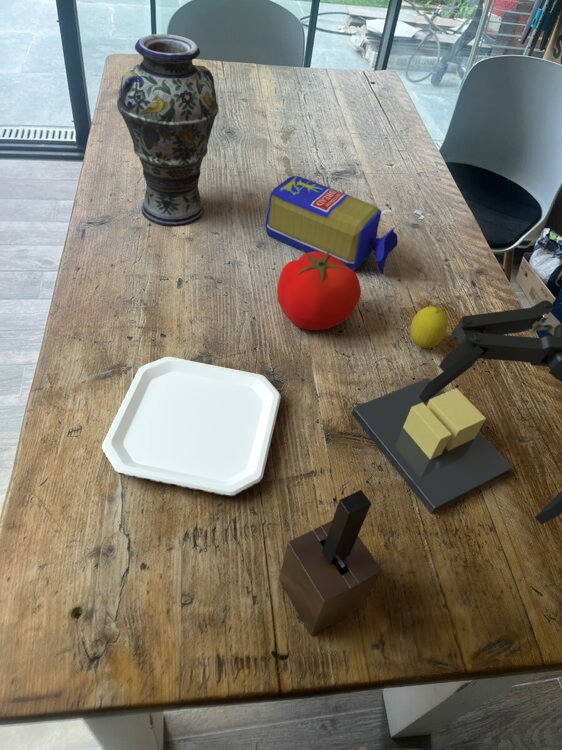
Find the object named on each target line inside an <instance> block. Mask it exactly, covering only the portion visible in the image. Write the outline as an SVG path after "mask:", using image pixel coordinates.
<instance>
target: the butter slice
mask: <svg viewBox="0 0 562 750" xmlns="http://www.w3.org/2000/svg"><path fill="white" fill-rule="evenodd" d="M403 428H404V429H405V430H406V432H407V433H408V434H409V435H410V436H411V437H412V439H413V440H414V441H415V442H416V443H417V445H418V446H419V447H420V448H421V449H422V450H423V452H424V453H425V454H426V455H427V456H428V457H429V459H432V458H435V457H437V456H439V455H441V454H442V452H443V450H444V448H445V446H446V444H447V442H448V441H449V439H450V437H451V435H452V434H451V433H450V432H449V431H448V430H447V428H446V427H445V426H444V425H443V424H442V423H441V422H440V421H439V420H438V419H437V417H436V416H435V415H434V414H433V413H432V412H431V411H430V410H429V409H428V408H427V406H426V405H425V404H424V403H423V402H422V403H420V404H418V405H415V406H413V407H411V410H410V412H409V414H408V417H407V419H406V422H405V424H404V426H403Z"/></svg>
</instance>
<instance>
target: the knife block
mask: <svg viewBox="0 0 562 750" xmlns="http://www.w3.org/2000/svg"><path fill="white" fill-rule="evenodd" d="M331 523H332V520H330V521H328V522H326V523H324V524H322V525H320V526H318V527H316V528H314V529H311V530H309V531H308V532H305V533H304V534H301V535H299V536H297V537H295V538H293V539H291V540H289V541H287V544H286V547H285V552H284V557H283V560H282V565H281V569H280V573H279V576H278V577H279V578H278V580H279V582H280V584H281V586H282V588H283V589H284V591H285V593H286V595H287V597H288V598H289V600H290V602H291V603H292V605H293V607H294V609H295V610H296V612H297V614H298V615H299V617H300V619H301V621H302V623H303V624H304V626H305V629H306V630H307V632H308V633H309V635H310V636H311V637H312V636H314V635H315V634H317V633H320V632H321V631H323V630H325V629H326V628H328V627H329V626H332V625H333V624H335V623H337V622H339V621H340V620H342V619H344V618H346V617H347V616H349V615H350V614H352V613H354V612H356V611H358V610H359V609H361V608H363V607H364V606H365V604H366V603H367V601H368V599H369V597H370V595H371V594H372V592H373V589H374V588H375V585H376V584H377V582H378V581H379V578H380V576H381V575H382V573H383V569H382V568H381V566H380V565H379V563H378V562H377V560H376V559H375V557H374V556H373V555H372V553H371V552H370V549H368V547H367V546H366V544H365V542H363V540H362V538H361V537H360V536H359V535H358V537H357V539H356V541H355V544H354V546H353V549H352V551H351V553H350V555H349V556H347V557H345V558H344V559H342V562H343V563H344V565H345V568H344V570H343V572H342V575H341V574H340V572H339V571H338V569H337V568H336V566H335V565H334V564H332V565H330V564H329V563H328V561H327V560H326V558H325V557H324V555H323V553H322V550H323V547H324V544H325V541H326V538H327V535H328V532H329V529H330V526H331Z"/></svg>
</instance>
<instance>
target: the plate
mask: <svg viewBox="0 0 562 750" xmlns="http://www.w3.org/2000/svg"><path fill="white" fill-rule="evenodd" d="M281 400H282V396H281V393H280V391H279V390H278V389H277V388H276V387H275V386H274V385H273V384H272V383H271V382H270V380H269V379H268V378H267V377H266V376H264V375H263V374H259V373H254V372H250V371H244V370H240V369H239V370H238V369H234V368H228V367H223V366H219V365H215V364H208V363H203V362H199V361H193V360H189V359H183V358H178V357H173V356H164V357H161V358H159V359H157V360H154V361H151V362H149V363H145V364H144V365H142V366H140V367H138V370H137V371H136V373H135V376H134V378H133V380H132V382H131V384H130V386H129V388H128V390H127V393H126V394H125V395H124V398H123V401H122V402H121V404H120V406H119V409H118V411H117V413H116V415H115V417H114V419H113V421H112V422H111V423H112V424H111V425H110V427H109V429H108V432H107V434H106V436H105V438H104V440H103V441H102V445H101V447H102V452H103V453H104V455H105V456H106V458H107V460H108V461H109V463H110V465H111V467H112V469H113V470H114V472H116V473H117V474H119V475H123V476H126V477H127V476H128V477H132V478H138V479H141V480H142V479H143V480H147V481H151V482H155V483H161V484H167V485H171V486H175V487H181V488H184V489H185V488H187V489H190V490H195V491H200V492H201V491H202V492H206V493H209V494H213V495H214V494H215V495H219V496H223V497H235V496H236V495H239V494H240V493H242V492H244V491H246V490H247V489H249V488H252V487H253V486H255V485H257V484H259V483H260V482H262V480H263V478H264V473H265V469H266V465H267V460H268V455H269V452H270V446H271V443H272V438H273V434H274V429H275V425H276V421H277V417H278V412H279V407H280V403H281Z"/></svg>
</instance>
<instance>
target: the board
mask: <svg viewBox="0 0 562 750" xmlns="http://www.w3.org/2000/svg"><path fill="white" fill-rule="evenodd" d="M430 381H432V379H430V378H429V377H427V378H424V379H422V380H419V381H417V382H415V383H412V384H409V385H407V386H404V387H402V388H399V389H397V390H394V391H392V392H391V391H390V392H389V393H387V394H384V395H382V396H379V397H377V398H374V399H372V400H368V401H366V402H364V403H362V404H359V405H356V406H354V407H353V408H352V411H351V415H352V417H353V418H354V419H355V420H356V422H357V423H358V424H359V425H360V427H361V428H362V429H363V430H364V432H365V433H366V434H367V435H368V437H369V438H370V439H371V440H372V442H373V443H374V444H375V446H376V447H377V448H378V449H379V450H380V452H381V453H382V454H383V455H384V457H385V458H386V460H387V461H388V462H389V463H390V464H391V466H392V467H393V468H394V469H395V471H396V472H397V473H398V474H399V476H401V478H402V479H403V480H404V482H405V483H406V484H407V485H408V487H409V488H410V489H411V491H412V492H413V493H414V494H415V496H416V497H417V498H418V499H419V500H420V502H421V503H422V505H423V506H424V507H425V509H426V510H428V512H429V513H430V514H431V515H432V514H434V513H437V512H438V511H440V510H443V509H444V508H447V507H448V506H450V505H452V504H454V503H456V502H457V501H459V500H461V499H463V498H465V497H467V496H468V495H470V494H472V493H474V492H476V491H478V490H480V489H482V488H484V487H486V486H487V485H489V484H492V483H494V482H495V481H497V480H500V479H501V478H503V477H505V476H507V475H509V474H510V472H511V471H512V469H513V468H514V467H513V466H512V464H510V462H508V460H507V459H506V458H505V457H504V456H503V455H502V454H501V453H500V452H499V450H497V449H496V447H494V445H492V443H491V442H490V441H489V440H488V439H487V438H486V437H485V436H484V435H483V434H482V433H481V432H480V431H479V432H478V433H477V435H476V437H475V439H472V440H470V441H468V442H466V443H464V444H462V445H460V446H458V447H456V448H453V449H451V450H449V451H448V450H447V449H446V448H444V450H443V452H442V454H441V455H439V456H437V457H435V458H432V459H429V457H428V456H427V455H426V454H425V453H424V452H423V450H422V449H421V448H420V447H419V446H418V445H417V443H416V442H415V441H414V440H413V439H412V437H411V436H410V435H409V434H408V433H407V432H406V430H405V429H404V428H403V426H404V424H405V422H406V419H407V417H408V414H409V412H410V410H411V407H413V406H415V405H418V404H420V403H422V402H423V401H422V400H421V399H420V398H419V396H420V394H421V393H422V391H423V390H424V389H425V387H426V386H427V384H428V383H429V382H430ZM442 394H444V392H442V390H441V391H439V392H438V393H437V394H435V395H434V396H433V397H432V398H434V397H437V396H439V395H442ZM432 398H430V399H432ZM430 399H429V400H430ZM429 400H428V401H426V402H425V403H424V402H423V403H424V404H425V405H426V406H427V405H428V402H429Z"/></svg>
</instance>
